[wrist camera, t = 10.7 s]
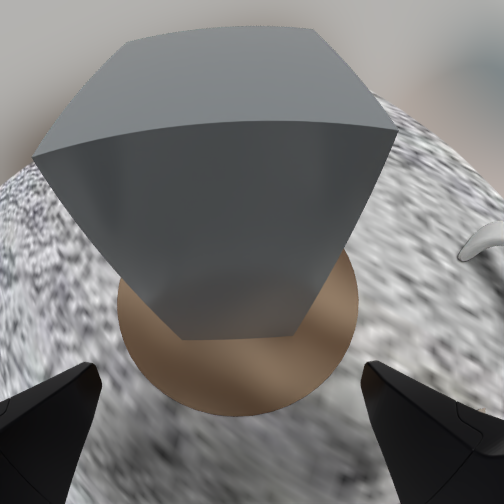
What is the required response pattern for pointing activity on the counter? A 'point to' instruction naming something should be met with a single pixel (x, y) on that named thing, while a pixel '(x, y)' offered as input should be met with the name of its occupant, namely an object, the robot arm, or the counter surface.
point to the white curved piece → (483, 240)
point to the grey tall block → (220, 172)
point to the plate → (244, 353)
